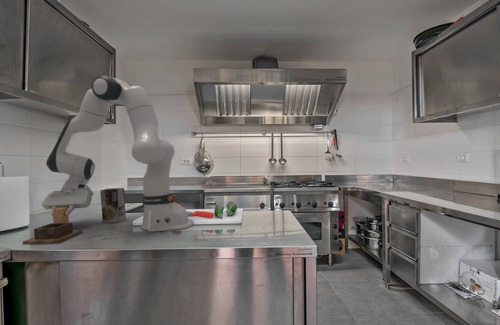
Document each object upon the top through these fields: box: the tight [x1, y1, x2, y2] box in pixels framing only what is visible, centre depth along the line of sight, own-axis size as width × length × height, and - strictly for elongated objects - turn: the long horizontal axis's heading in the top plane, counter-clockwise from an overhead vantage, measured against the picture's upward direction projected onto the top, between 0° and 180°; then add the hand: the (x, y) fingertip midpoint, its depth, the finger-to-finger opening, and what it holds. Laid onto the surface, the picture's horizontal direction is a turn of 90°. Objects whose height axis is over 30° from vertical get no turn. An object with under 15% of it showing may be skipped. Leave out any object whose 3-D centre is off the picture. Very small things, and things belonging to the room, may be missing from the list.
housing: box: [22, 222, 84, 245], centre depth 111 cm, size 14×14×5 cm
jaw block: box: [52, 207, 70, 223], centre depth 122 cm, size 4×4×9 cm
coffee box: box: [99, 187, 127, 223], centre depth 139 cm, size 9×6×16 cm
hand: (59, 215), depth 122 cm, fingers closed on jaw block, 4 cm apart
